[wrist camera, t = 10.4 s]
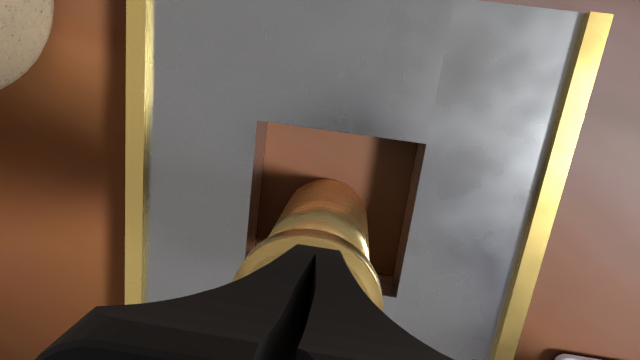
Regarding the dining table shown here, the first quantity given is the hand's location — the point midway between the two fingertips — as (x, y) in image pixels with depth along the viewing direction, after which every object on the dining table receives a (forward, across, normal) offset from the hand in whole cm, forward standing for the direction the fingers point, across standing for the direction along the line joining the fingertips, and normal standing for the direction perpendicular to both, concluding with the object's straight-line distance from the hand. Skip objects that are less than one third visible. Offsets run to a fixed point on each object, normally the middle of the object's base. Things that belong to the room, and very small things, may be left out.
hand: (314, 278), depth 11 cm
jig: (+8, 0, 0) cm, 8 cm away
